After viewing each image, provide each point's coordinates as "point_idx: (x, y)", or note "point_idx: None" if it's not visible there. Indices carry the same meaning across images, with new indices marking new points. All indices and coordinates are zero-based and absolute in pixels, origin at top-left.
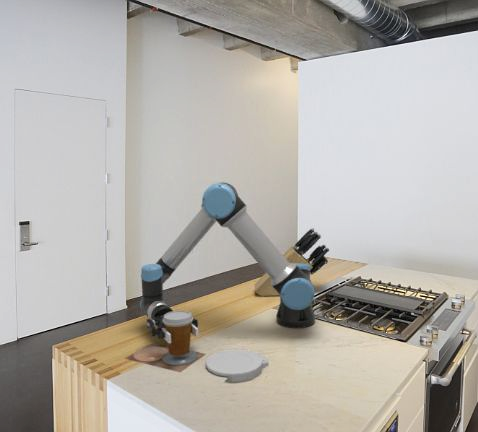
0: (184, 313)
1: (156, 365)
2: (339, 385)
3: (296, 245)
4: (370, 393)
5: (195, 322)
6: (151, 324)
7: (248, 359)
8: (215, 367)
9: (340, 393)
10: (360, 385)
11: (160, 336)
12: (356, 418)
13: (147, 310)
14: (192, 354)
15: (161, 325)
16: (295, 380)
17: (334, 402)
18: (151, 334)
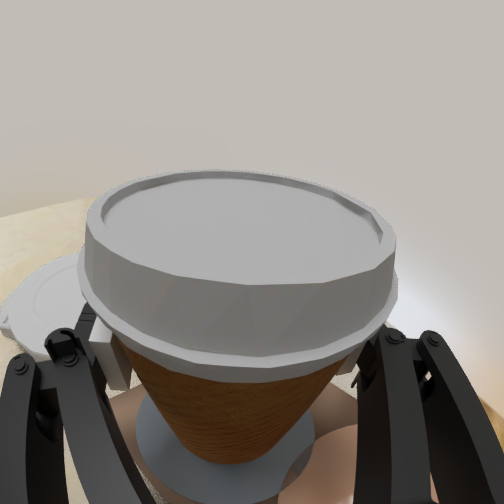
0: (139, 227)
1: (335, 391)
2: (36, 225)
3: None
4: (38, 212)
5: (39, 366)
6: (478, 416)
7: (50, 283)
8: None
9: (53, 218)
10: (25, 220)
11: None
12: (89, 199)
13: None
14: (159, 418)
15: (393, 387)
16: (52, 245)
17: (75, 212)
18: (425, 378)
